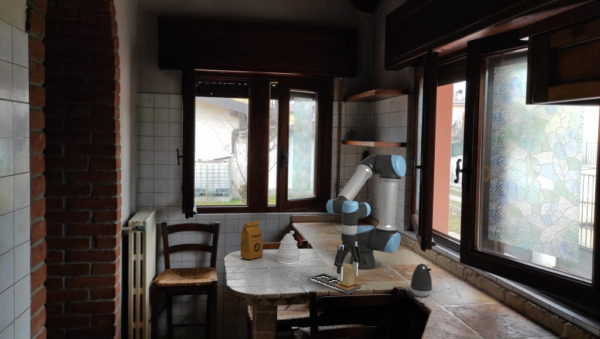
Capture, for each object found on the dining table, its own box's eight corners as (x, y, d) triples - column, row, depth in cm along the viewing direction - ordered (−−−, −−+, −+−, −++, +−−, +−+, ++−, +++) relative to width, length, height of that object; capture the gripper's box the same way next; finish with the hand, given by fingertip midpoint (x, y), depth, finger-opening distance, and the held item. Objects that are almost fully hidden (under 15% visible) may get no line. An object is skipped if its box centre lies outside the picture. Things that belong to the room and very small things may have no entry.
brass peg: (346, 286, 230) (347, 263, 229) (354, 289, 226) (355, 265, 225) (339, 289, 226) (340, 265, 225) (347, 291, 223) (348, 267, 222)
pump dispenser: (421, 300, 214) (423, 268, 213) (405, 293, 223) (406, 262, 222) (436, 296, 220) (438, 265, 219) (419, 289, 229) (421, 259, 227)
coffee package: (265, 258, 276) (265, 221, 274) (248, 261, 268) (249, 224, 266) (254, 254, 283) (255, 219, 281) (238, 258, 275) (238, 221, 273)
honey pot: (300, 258, 277) (300, 229, 275) (297, 265, 264) (298, 234, 263) (278, 257, 278) (279, 228, 277) (275, 263, 266) (276, 232, 264)
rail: (323, 276, 245) (324, 272, 244) (360, 289, 226) (360, 285, 226) (310, 280, 238) (310, 276, 238) (347, 294, 220) (347, 289, 219)
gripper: (358, 228, 234) (356, 271, 236) (327, 234, 219) (325, 280, 221) (370, 231, 229) (368, 274, 231) (338, 237, 213) (337, 284, 215)
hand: (347, 277), depth 226 cm, fingers open, 10 cm apart
